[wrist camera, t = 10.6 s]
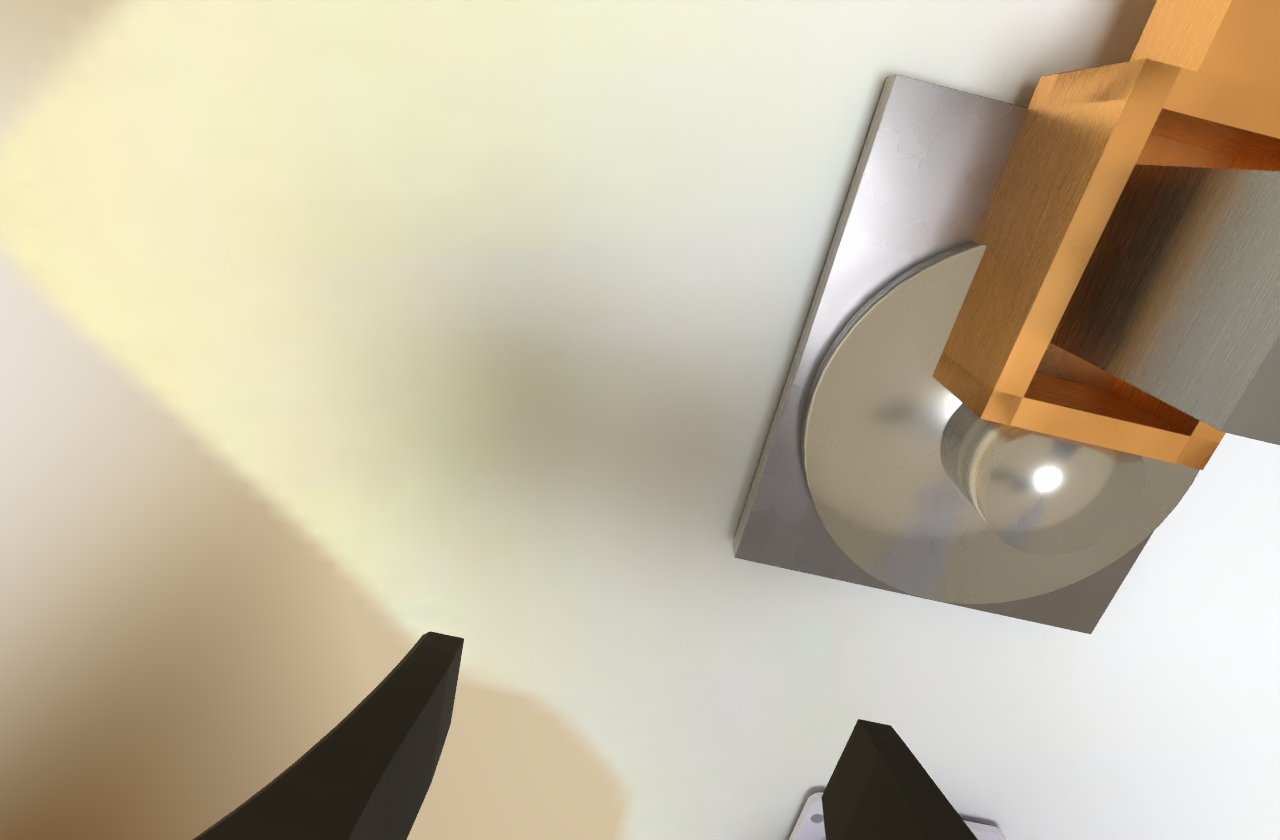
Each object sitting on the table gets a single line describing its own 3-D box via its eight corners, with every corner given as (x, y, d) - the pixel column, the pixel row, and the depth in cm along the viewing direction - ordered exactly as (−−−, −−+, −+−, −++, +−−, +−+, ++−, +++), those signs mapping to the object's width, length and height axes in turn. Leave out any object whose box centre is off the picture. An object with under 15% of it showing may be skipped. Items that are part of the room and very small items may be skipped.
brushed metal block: (1101, 344, 18) (1355, 463, 11) (1014, 323, 17) (1219, 431, 11) (1183, 185, 16) (1532, 216, 10) (1088, 161, 16) (1376, 176, 9)
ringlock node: (1077, 618, 23) (1171, 727, 18) (732, 543, 22) (747, 639, 18) (1542, -165, 15) (1903, -291, 10) (1017, -318, 14) (1170, -519, 10)
